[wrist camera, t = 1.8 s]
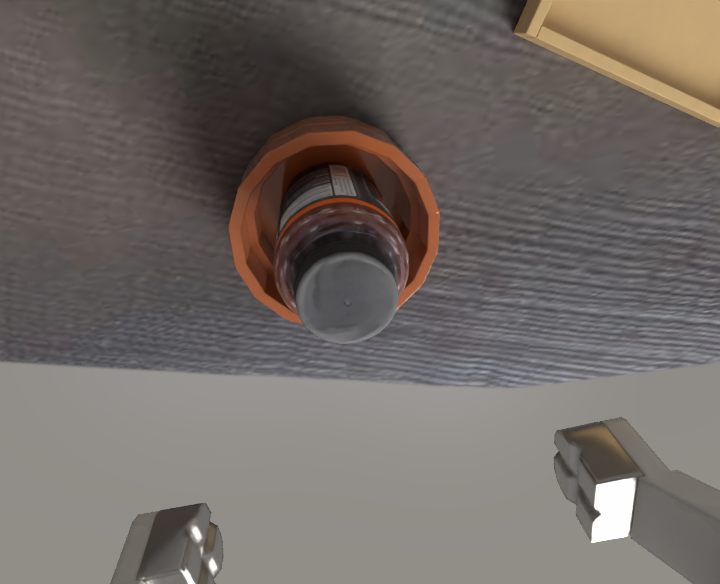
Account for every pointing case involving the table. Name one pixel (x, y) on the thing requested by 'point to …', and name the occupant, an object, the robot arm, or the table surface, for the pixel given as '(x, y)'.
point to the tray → (638, 45)
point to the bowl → (320, 145)
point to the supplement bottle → (339, 254)
